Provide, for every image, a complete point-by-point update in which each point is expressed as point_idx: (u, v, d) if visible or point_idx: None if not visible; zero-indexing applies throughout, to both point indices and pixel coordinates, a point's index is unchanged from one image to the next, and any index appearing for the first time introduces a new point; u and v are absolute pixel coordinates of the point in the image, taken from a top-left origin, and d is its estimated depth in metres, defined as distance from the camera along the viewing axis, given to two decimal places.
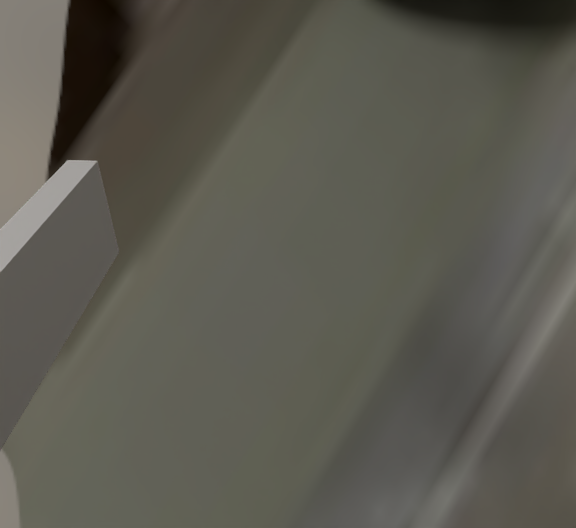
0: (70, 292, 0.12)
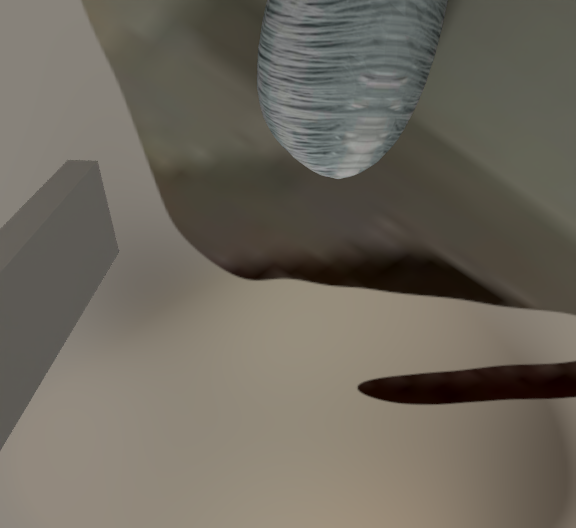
0: (69, 292, 0.12)
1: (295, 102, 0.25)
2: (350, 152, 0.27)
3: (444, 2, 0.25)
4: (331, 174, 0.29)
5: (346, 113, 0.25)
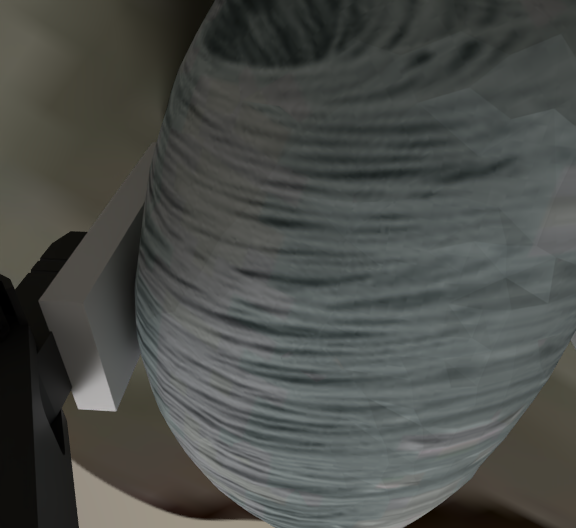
0: None
1: (226, 461, 0.10)
2: None
3: None
4: None
5: (361, 498, 0.10)
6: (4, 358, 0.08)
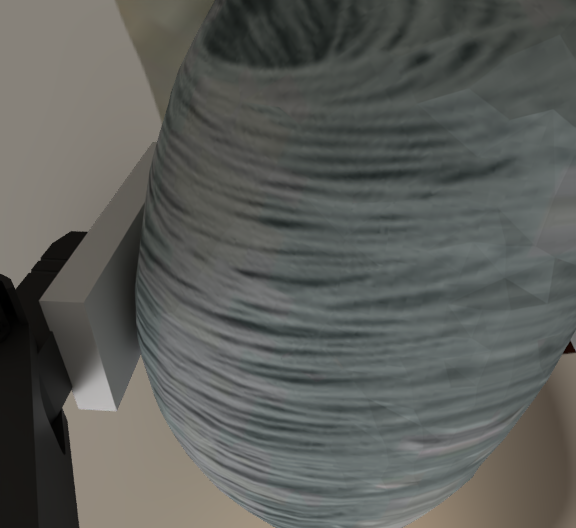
0: None
1: (226, 461, 0.10)
2: None
3: None
4: None
5: (361, 498, 0.10)
6: (5, 358, 0.08)
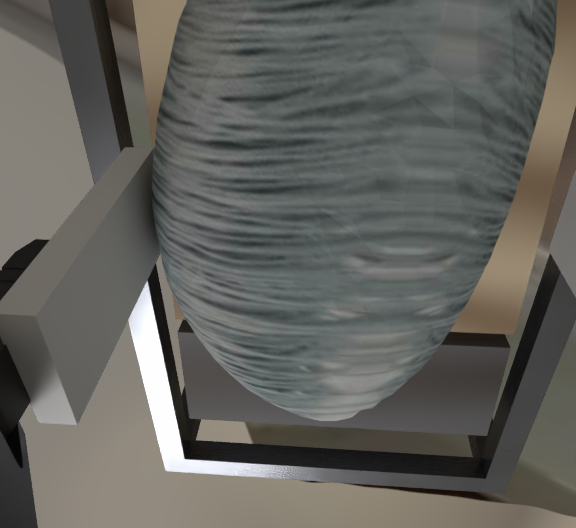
0: (132, 271, 0.12)
1: (212, 296, 0.12)
2: (335, 393, 0.13)
3: (540, 97, 0.11)
4: (302, 415, 0.14)
5: (319, 326, 0.11)
6: None
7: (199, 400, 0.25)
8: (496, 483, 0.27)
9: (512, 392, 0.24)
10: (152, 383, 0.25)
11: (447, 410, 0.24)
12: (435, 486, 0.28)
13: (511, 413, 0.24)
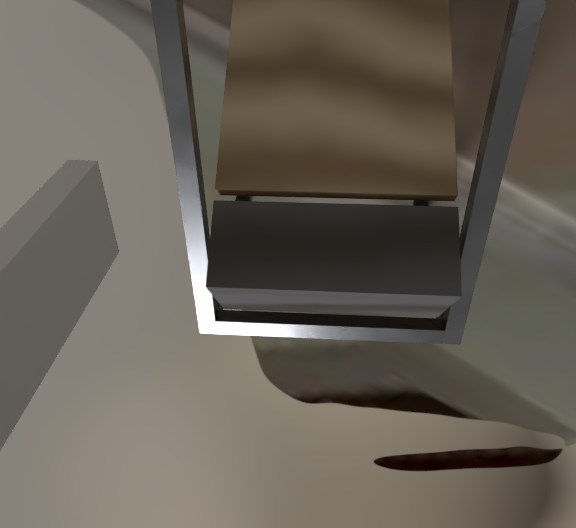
0: (69, 292, 0.12)
1: None
2: None
3: None
4: None
5: None
6: None
7: (218, 266, 0.30)
8: (453, 335, 0.36)
9: (460, 252, 0.32)
10: (194, 251, 0.33)
11: (423, 268, 0.29)
12: (407, 339, 0.36)
13: None
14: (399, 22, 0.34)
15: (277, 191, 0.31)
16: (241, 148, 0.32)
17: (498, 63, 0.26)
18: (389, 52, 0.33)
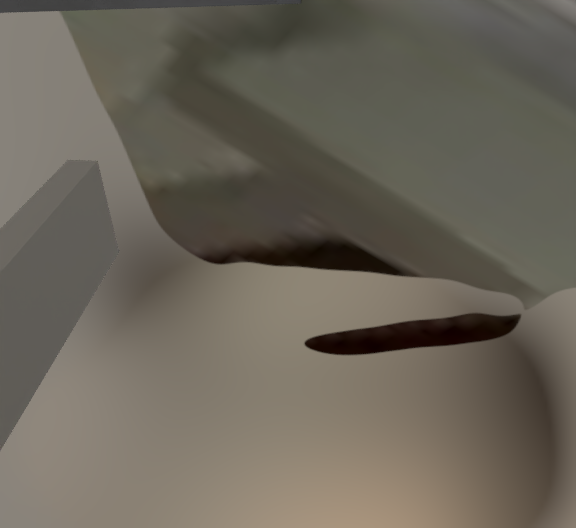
0: (70, 292, 0.12)
1: None
2: None
3: None
4: None
5: None
6: None
7: None
8: None
9: None
10: None
11: None
12: (227, 0, 0.26)
13: None
14: None
15: None
16: None
17: None
18: None
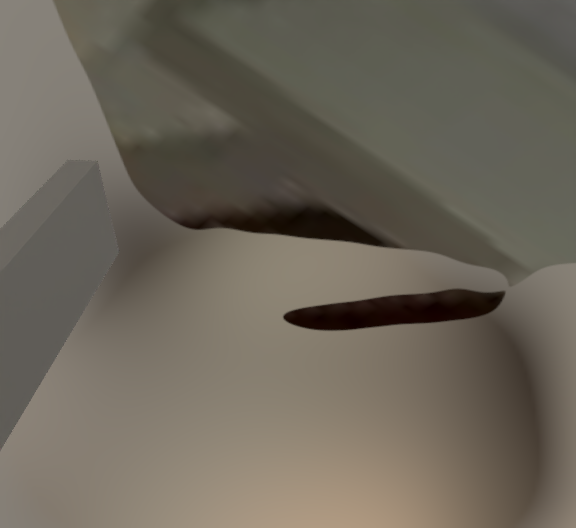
0: (69, 292, 0.12)
1: None
2: None
3: None
4: None
5: None
6: None
7: None
8: None
9: None
10: None
11: None
12: None
13: None
14: None
15: None
16: None
17: None
18: None
